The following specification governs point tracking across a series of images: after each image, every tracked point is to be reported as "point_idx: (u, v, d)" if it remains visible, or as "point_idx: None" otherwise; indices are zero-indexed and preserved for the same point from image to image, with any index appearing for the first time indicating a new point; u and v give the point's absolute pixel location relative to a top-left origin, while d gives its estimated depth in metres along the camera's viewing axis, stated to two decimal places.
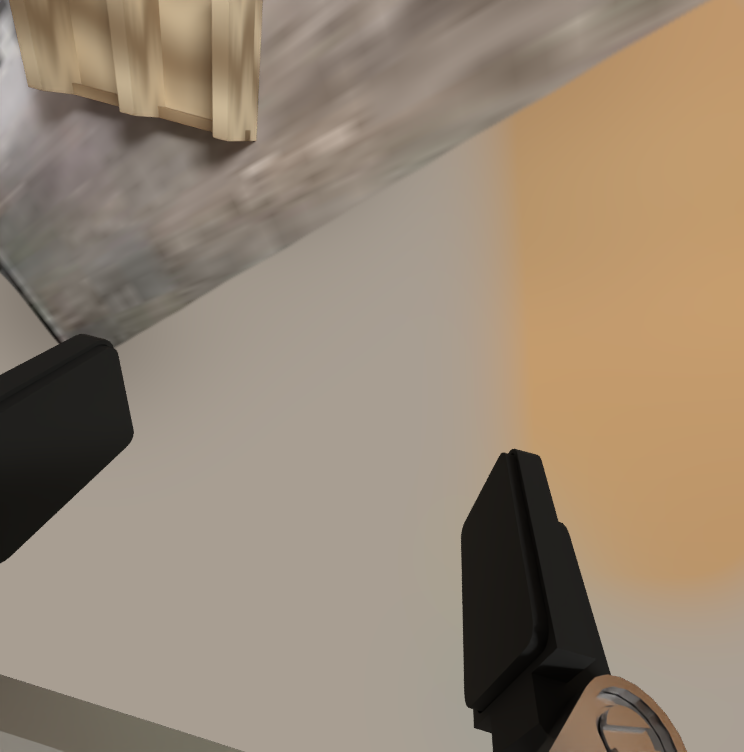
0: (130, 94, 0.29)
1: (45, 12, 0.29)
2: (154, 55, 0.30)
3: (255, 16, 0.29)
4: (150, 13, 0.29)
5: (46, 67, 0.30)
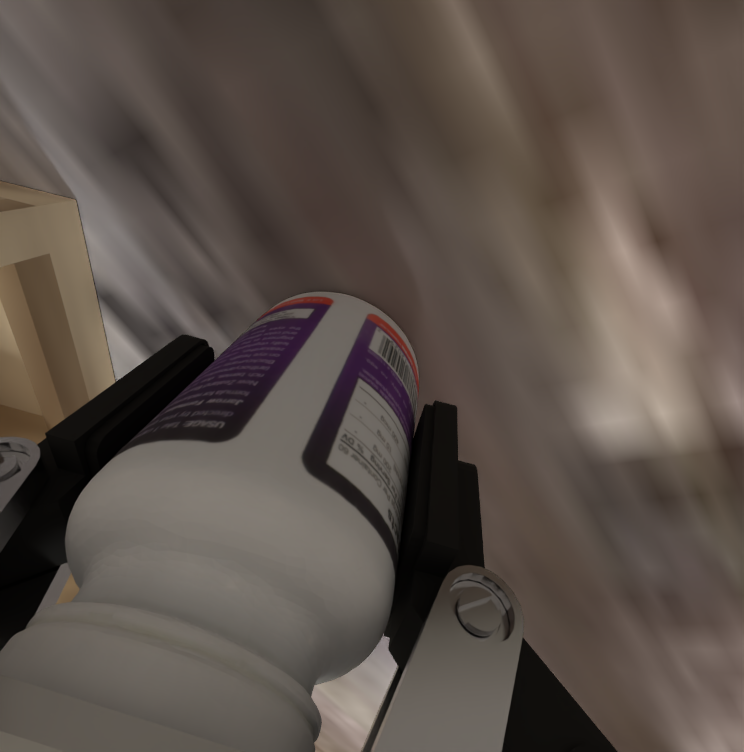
0: None
1: None
2: None
3: None
4: None
5: None
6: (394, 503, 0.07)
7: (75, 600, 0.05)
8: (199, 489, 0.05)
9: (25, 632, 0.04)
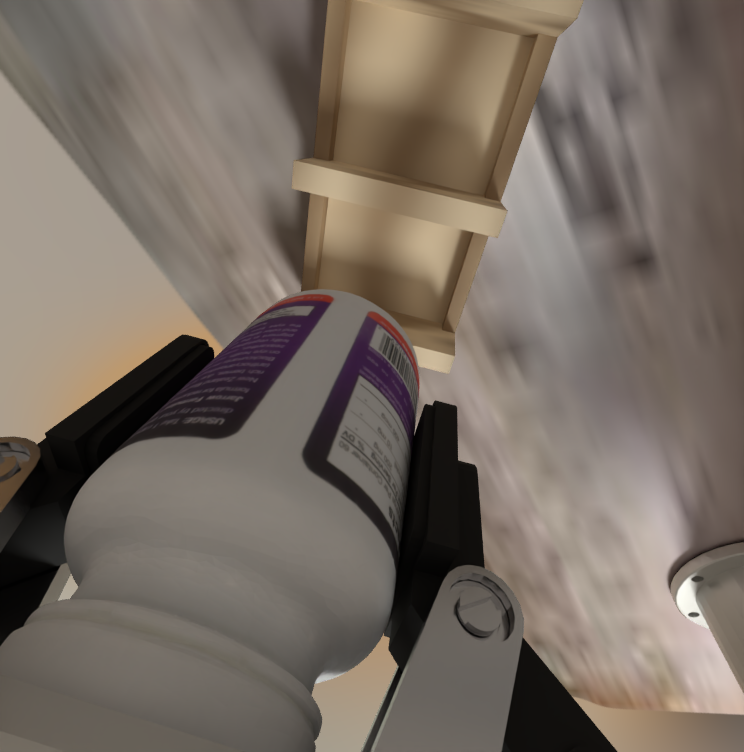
0: (319, 192, 0.18)
1: (440, 3, 0.15)
2: None
3: None
4: None
5: None
6: (395, 501, 0.07)
7: (74, 597, 0.05)
8: (200, 486, 0.05)
9: (23, 629, 0.04)
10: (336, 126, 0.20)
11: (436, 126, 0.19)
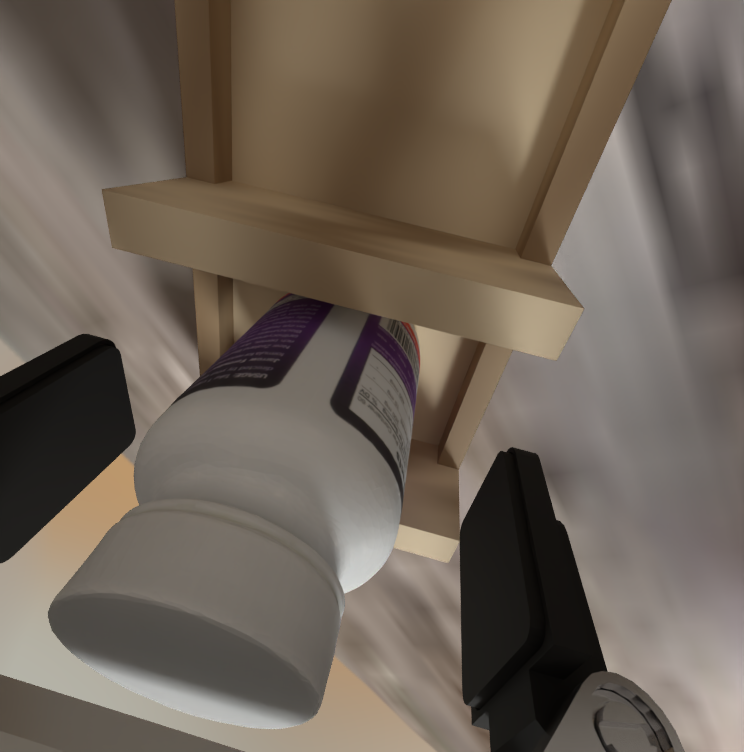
0: (168, 257, 0.08)
1: None
2: None
3: None
4: None
5: None
6: (401, 449, 0.08)
7: None
8: (254, 420, 0.06)
9: (127, 519, 0.05)
10: (228, 116, 0.10)
11: (424, 116, 0.10)
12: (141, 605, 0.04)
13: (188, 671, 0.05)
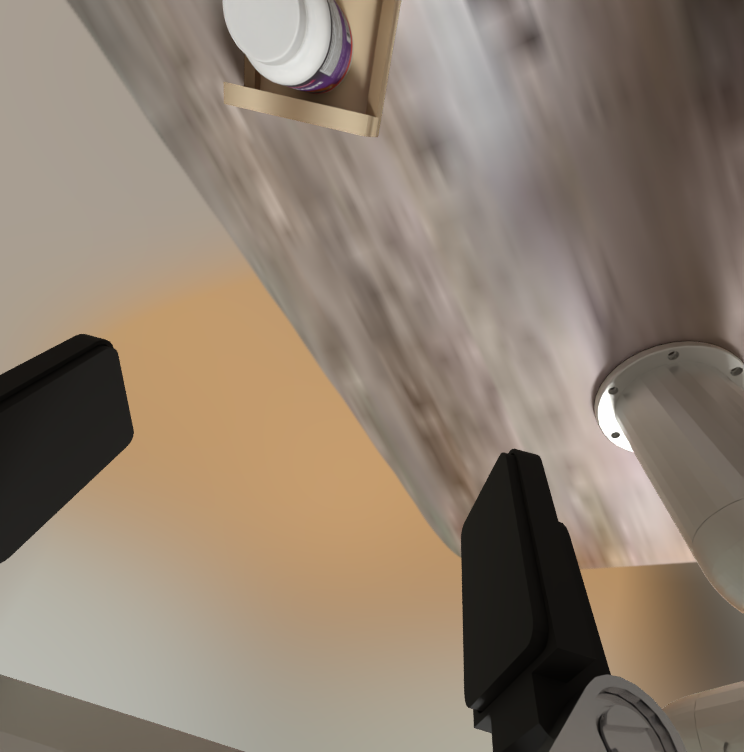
0: None
1: None
2: None
3: None
4: None
5: None
6: (332, 9, 0.21)
7: None
8: None
9: None
10: None
11: None
12: None
13: (262, 7, 0.19)
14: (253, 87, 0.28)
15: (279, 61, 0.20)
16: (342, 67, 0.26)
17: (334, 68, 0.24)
